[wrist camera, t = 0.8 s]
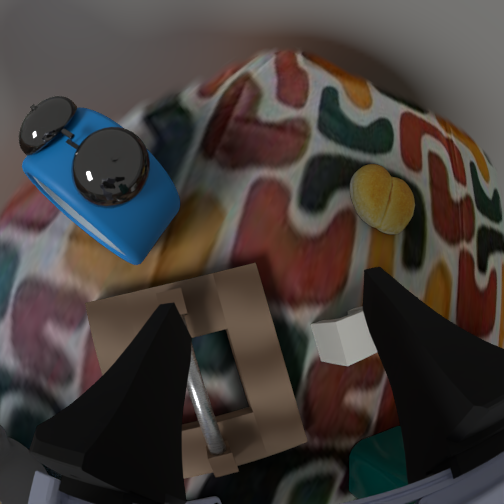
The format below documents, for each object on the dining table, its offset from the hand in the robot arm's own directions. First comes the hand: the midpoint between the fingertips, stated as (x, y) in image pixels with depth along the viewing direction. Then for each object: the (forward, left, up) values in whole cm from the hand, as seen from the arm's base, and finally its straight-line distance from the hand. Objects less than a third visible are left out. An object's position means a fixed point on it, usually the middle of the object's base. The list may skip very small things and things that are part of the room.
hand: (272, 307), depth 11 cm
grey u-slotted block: (-5, -11, -17) cm, 21 cm away
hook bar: (-5, +4, -14) cm, 15 cm away
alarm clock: (+12, +8, -17) cm, 23 cm away
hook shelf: (-5, +4, -17) cm, 18 cm away
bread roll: (+8, -22, -18) cm, 29 cm away
